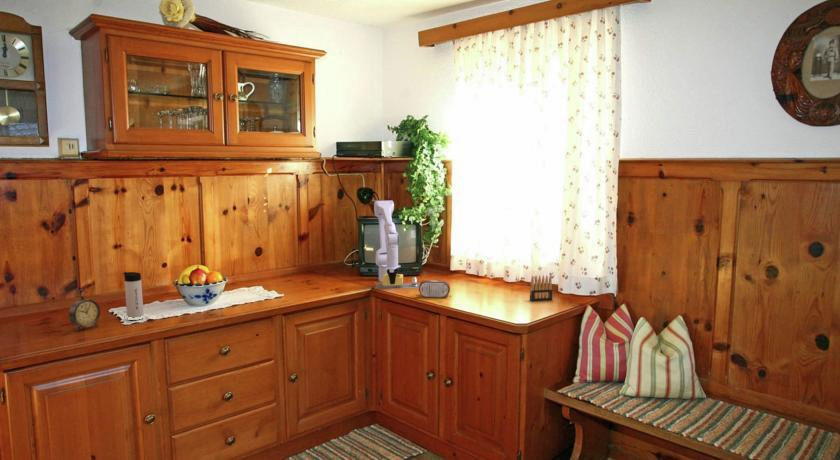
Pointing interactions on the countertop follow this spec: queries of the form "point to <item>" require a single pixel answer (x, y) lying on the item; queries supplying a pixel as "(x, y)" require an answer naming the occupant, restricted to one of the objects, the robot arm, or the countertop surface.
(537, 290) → the ammunition clip
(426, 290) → the tin
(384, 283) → the link
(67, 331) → the countertop surface
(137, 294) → the travel mug
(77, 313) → the alarm clock
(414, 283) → the metal drawer knob
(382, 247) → the robot arm
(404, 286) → the keeper board
